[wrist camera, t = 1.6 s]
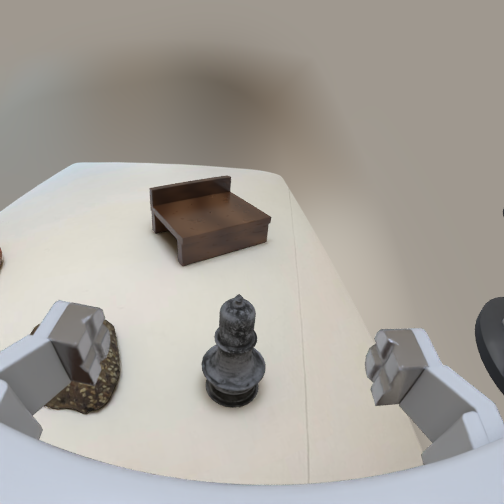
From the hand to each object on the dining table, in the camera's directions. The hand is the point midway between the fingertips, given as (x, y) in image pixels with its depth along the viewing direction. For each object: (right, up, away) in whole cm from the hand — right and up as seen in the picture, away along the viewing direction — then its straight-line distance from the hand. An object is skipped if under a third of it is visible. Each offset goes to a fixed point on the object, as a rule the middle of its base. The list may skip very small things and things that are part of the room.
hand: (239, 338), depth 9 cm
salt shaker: (-2, -11, +21) cm, 24 cm away
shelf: (-7, +5, +46) cm, 47 cm away
